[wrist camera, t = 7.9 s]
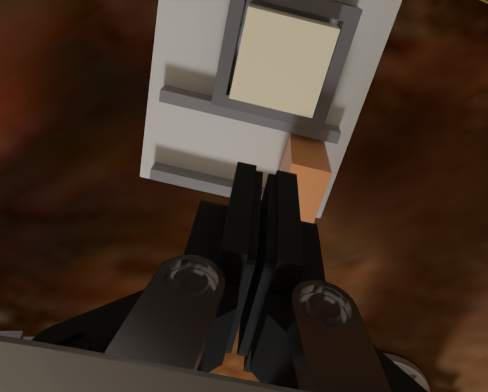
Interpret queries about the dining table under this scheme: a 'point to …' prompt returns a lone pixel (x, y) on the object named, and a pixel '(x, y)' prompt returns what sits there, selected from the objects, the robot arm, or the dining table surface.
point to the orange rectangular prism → (307, 172)
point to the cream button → (282, 60)
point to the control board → (241, 113)
